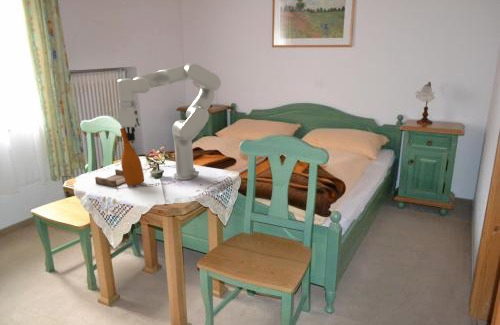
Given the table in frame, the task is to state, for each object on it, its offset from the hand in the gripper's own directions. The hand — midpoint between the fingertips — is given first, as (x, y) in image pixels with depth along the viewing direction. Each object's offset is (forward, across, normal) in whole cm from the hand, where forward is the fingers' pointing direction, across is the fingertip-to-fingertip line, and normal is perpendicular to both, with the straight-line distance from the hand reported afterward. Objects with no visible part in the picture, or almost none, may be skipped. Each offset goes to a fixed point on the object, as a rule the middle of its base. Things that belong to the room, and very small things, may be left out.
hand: (131, 140), depth 197 cm
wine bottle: (+24, 0, 0) cm, 24 cm away
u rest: (+24, +14, 0) cm, 28 cm away
